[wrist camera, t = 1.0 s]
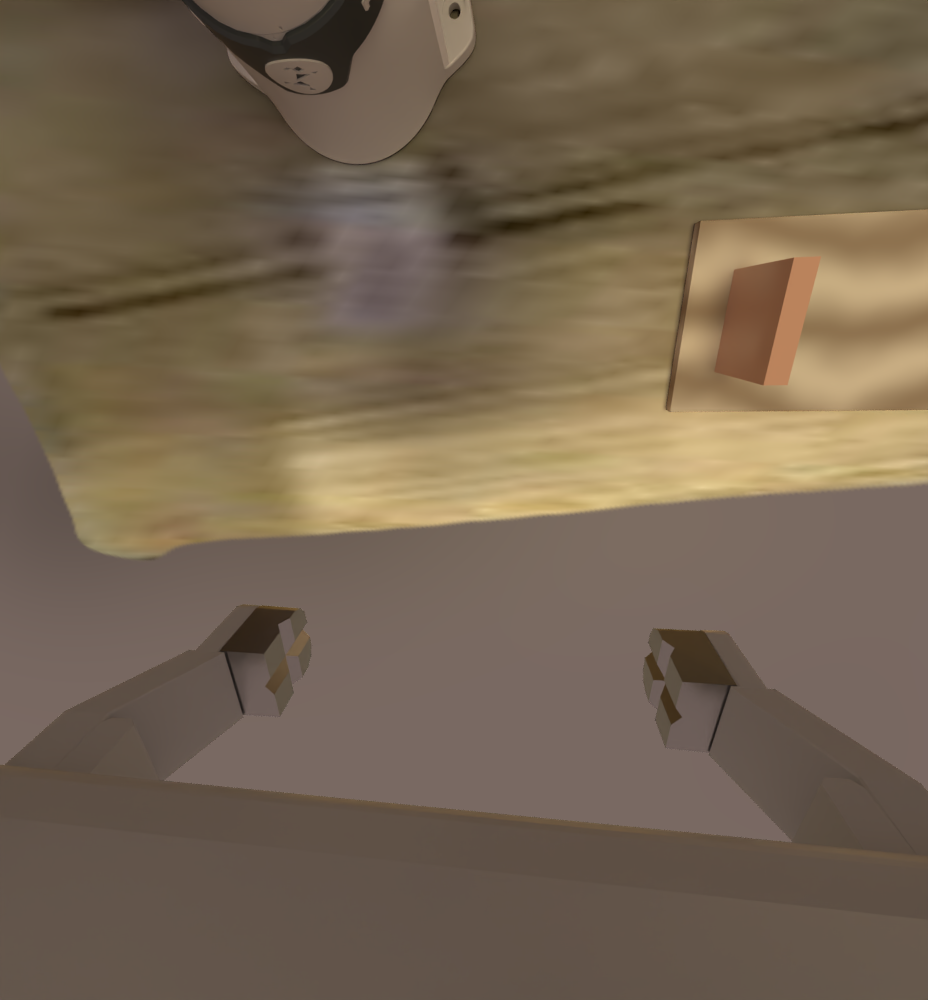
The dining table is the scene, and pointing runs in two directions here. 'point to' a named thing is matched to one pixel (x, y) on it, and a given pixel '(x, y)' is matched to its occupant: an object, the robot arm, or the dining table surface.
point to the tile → (766, 320)
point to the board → (814, 313)
